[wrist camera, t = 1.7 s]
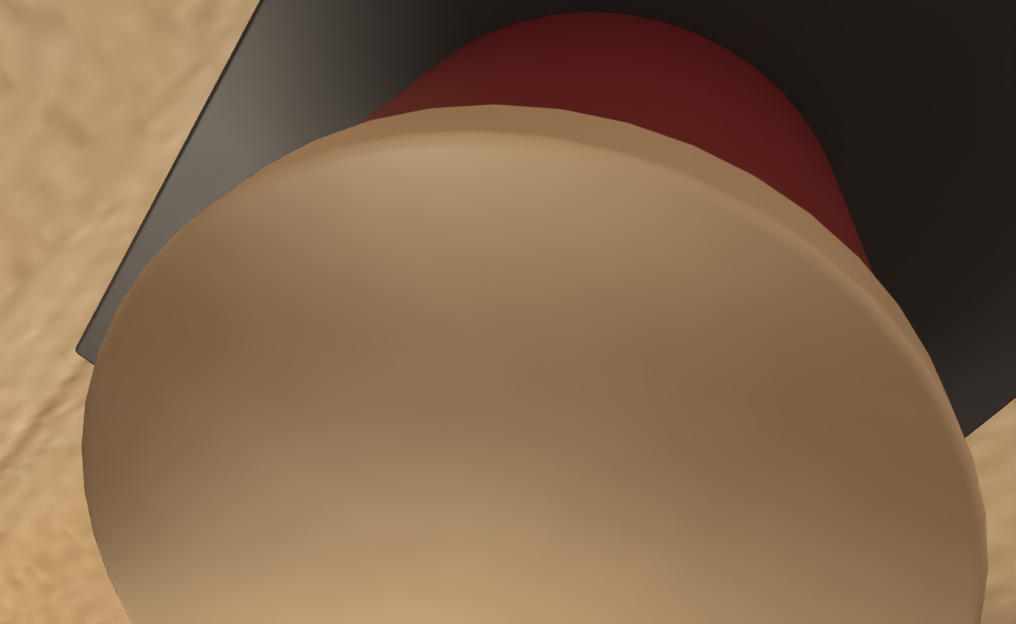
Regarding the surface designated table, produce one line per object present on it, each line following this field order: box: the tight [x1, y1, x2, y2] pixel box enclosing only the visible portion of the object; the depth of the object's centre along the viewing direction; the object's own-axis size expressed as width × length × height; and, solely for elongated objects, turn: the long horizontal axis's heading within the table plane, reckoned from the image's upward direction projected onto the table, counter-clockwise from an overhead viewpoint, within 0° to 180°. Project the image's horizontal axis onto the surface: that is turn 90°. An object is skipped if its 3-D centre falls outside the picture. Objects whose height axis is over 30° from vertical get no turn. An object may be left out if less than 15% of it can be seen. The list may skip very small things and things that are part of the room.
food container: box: [76, 0, 1016, 438], centre depth 14 cm, size 11×13×5 cm
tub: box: [82, 12, 988, 624], centre depth 10 cm, size 7×7×6 cm
